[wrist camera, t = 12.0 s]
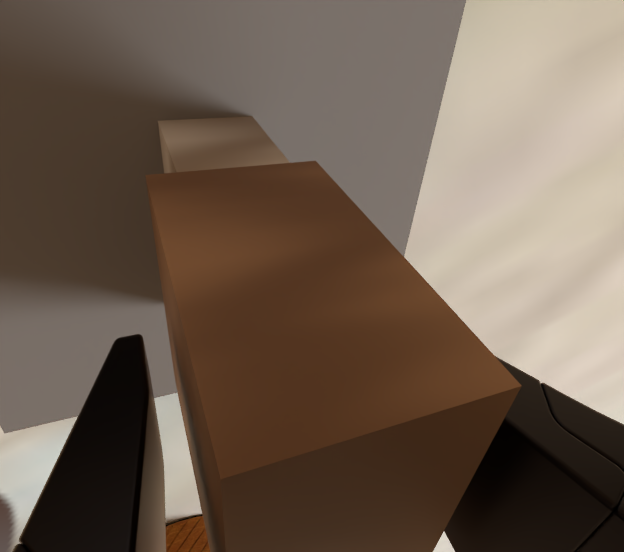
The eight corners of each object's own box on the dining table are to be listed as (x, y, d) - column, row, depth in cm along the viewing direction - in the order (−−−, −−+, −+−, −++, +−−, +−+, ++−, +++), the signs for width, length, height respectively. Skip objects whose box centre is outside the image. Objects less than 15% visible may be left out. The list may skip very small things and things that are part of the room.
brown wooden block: (274, 115, 10) (522, 385, 5) (268, 289, 13) (414, 585, 8) (132, 121, 9) (221, 479, 4) (160, 308, 12) (233, 666, 7)
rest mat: (452, -63, 11) (480, -61, 10) (370, 325, 18) (382, 343, 17) (-260, -137, 6) (-301, -140, 6) (8, 405, 14) (4, 433, 13)
